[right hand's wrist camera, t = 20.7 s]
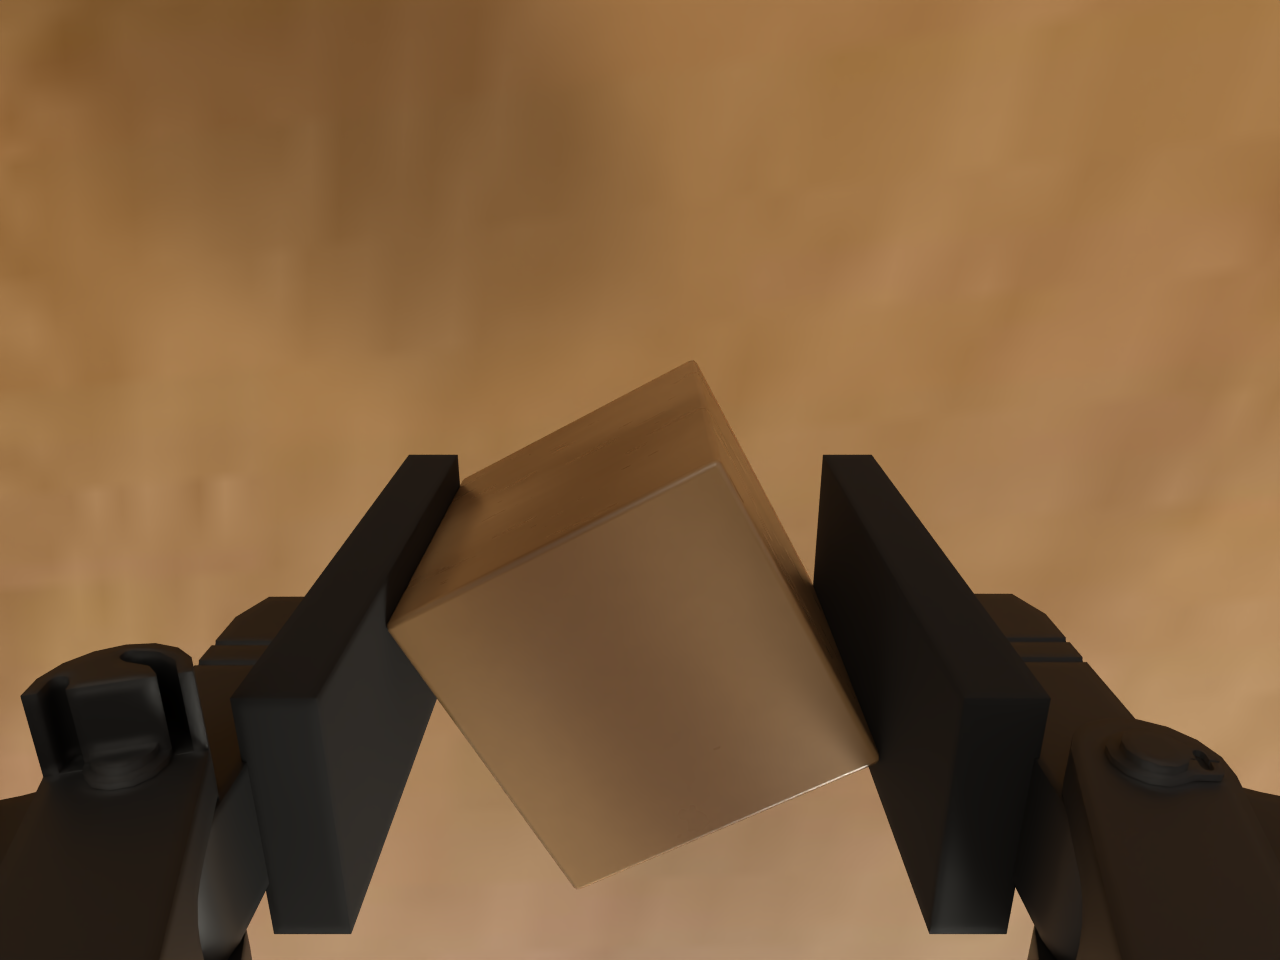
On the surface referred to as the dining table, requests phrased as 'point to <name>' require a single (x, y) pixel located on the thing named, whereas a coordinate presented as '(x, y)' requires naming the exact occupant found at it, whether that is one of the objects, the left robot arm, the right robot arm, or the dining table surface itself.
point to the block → (631, 634)
